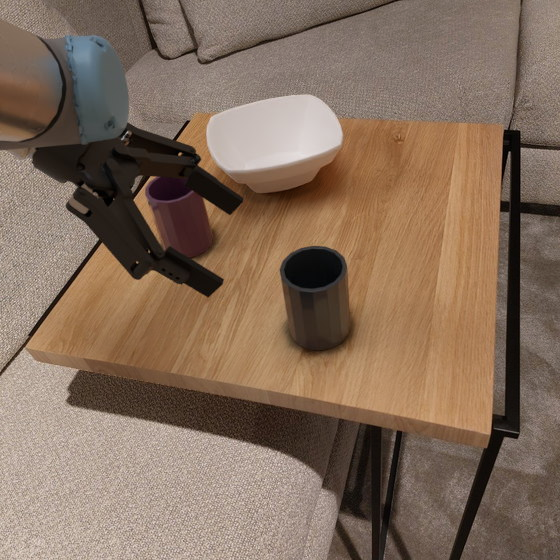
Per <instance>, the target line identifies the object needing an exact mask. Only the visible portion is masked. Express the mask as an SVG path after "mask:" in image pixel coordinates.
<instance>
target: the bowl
mask: <svg viewBox="0 0 560 560" xmlns="http://www.w3.org/2000/svg"><path fill="white" fill-rule="evenodd" d="M344 137H345V135H344V132H343V128H342V125H341V122H340V120H339V118H338V116H337V115H336V114H335V112H334V111H333V110H332V109H331V108H330V106H329V105H327V103H325V102H324V101H323V100H322V99H320V98H318V97H317V96H315V95H313V94H292V95H291V94H290V95H285V96H277V97H271V98H266V99H261V100H257V101H251V102H249V103H244V104H241V105H238V106H234V107H232V108H228V109H225V110H223V111H220V112H218V113H216V114H214V115H211V117H210V119H209V121H208V123H207V125H206V132H205V138H206V145H207V149H208V152H209V154H210V156H211V158H212V160H213V161H214V163H215V164H216V166H217V167H218V168H219V169H220V170H221V171H223V172H224V173H225V174H226V175H227V176H228V177H229V178H231V179H232V180H233V181H234V182H236V183H237V184H245V185H246V186H247V187H248V188H249V189H250V190H252V191H253V192H254V193H255V194H268V193H276V192H282V191H287V190H291V189H295V188H297V187H300V186H303V185H305V184H308V183H310V182H312V181H313V180H314V179H315V178H316V176H317V174H318V173H319V171H320V170H321V168H323V167H325V166H327V165H329V164H330V163H332V162H333V161H334V159H335V158H336V156H337V155H338V153H339V152H340V150H341V149H342V148H343V145H344V144H343V143H344Z"/></svg>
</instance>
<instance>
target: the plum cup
mask: <svg viewBox="0 0 560 560" xmlns="http://www.w3.org/2000/svg"><path fill="white" fill-rule="evenodd" d="M187 179H188V178H185V179H182V178H168V177H154V178H153V179H151V180H150V181H149V182H148V183H147V185H146V186H145V190H144V195H145V198H146V201H147V205H148V207H149V211H150V213H151V217H152V219H153V222H154V225H155V228H156V231H157V235H158V236H159V240H160V242H161V247H162V248H163V250H164V251H165V250H166V249H167V248H168V247H169V246H170V247H172V248H174V249H175V250H177V251H179V252H180V253H182V254H184V255H185V256H187V257H188V258H190V259H192V258H194V257H197V256H200V255H201V254H203V253H205V252H206V251H207V250H209V248H210V247H211V246H212V244H213V241H214V235H213V229H212V225H211V222H210V218H209V214H208V211H207V206H206V203H205V198H203V197H201V196H200V195H198V194H197V193H195V192H194V191H192V190H191V189H189V188H188V187H186V186H185V185H184V184H185V182H186V180H187Z"/></svg>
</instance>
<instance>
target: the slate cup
mask: <svg viewBox="0 0 560 560" xmlns="http://www.w3.org/2000/svg"><path fill="white" fill-rule="evenodd" d="M279 277H280V283H281V289H282V294H283V301H284V306H285V312H286V318H287V324H288V330H289V335H290V338H291V339H292V340H293V341H294V342H295V343H296V344H297V345H298V346H299V347H301V348H304V349H305V350H310V351H317V352H320V351H321V352H322V351H327V350H330V349H334V348H335V347H337V346H339V345H340V344H342V342H344V341H345V340H346V338H347V337H348V335H349V334H350V330H351V312H350V310H351V309H350V290H349V272H348V263H347V261H346V258H345V256H344V255H342V253H340V252H339V251H338V250H336V249H334V248H331V247H329V246H325V245H324V246H323V245H309V246H304V247H300V248H298V249H296V250H293V251H292V252H290V253H288V255H286V257H284V259H283V260H282V262H281V265H280V267H279Z"/></svg>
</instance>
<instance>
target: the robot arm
mask: <svg viewBox="0 0 560 560" xmlns="http://www.w3.org/2000/svg"><path fill="white" fill-rule="evenodd" d="M129 115H130V97H129V89H128V83H127V78H126V73H125V71H124V67H123V64H122V62H121V59H120V56H119V55H118V53H117V51H116V50H115V48H114V46H113V45H112V44H111V43H110V42H109V41H108V40H107V39H105V38H104V37H102V36H100V35H96V34H95V35H72V34H65V36H62V37H57V38H45V37H42V36H40V35H37V34H34V33H33V32H31V31H28V30H26V29H23V28H22V27H20V26H17V25H15V24H14V23H11V22H9V21H6V20H4V19H2V18H0V151H6V152H8V153H9V154H11V155H13V156H15V157H16V158H18V159H19V160H20V161H23V160H26V159H27V158H29V159H31V164H32V165H33V166H32V167H33V168H35V169H36V170H38V171H39V172H40V173H43V174H44V175H46V176H48V177H49V178H51V179H52V180H54V181H56V182H58V183H59V184H66V183H69V182H70V183H72V184H73V185H74V186H75V187H76V188H75V190H74V191H73V193H72V194H71V196H70V197H69V199H68V200H67V202H66V203H65V209H66V211H68V212H70V213H71V214H72V215H74V216H75V217H76V218H78V219H79V220H81V221H82V222H83V223H85V225H86V226H87V227H88V228H89V229H90V230H91V232H92V233H93V234H94V235H95V236H96V238H98V240H99V241H100V242H101V243H102V244H103V246H105V248H106V249H107V250H108V251H109V252H110V253H111V255H112V256H113V257H114V258H115V259H116V260H117V261H118V263H119V264H120V265H121V267H123V268H124V270H125V271H126V272H127V273H128V274H129V275H130V277H131V278H132V279H134V280H136V281H140V280H141V279H142V278H144V276H145V275H149V273H150V272H151V271H154V272H156V273H157V274H160V275H161V276H163V277H164V278H167V279H168V280H169V281H172V282H173V283H175V284H177V285H181V286H182V285H186V286H187V287H190V289H192V290H194V291H195V292H198V293H200V294H201V295H203V296H204V297H206V298H210V297H211V296H212V295H213V294H214V293H216V291H218V289H220V288H221V287H222V286H223V285H224V281H225V279H224V278H223V277H221V276H220V275H218V274H216V273H215V272H213V271H212V270H210V269H208V268H206V267H205V266H203V265H202V264H200V263H198V262H197V261H195V260H193V259H192V258H188V257H187V256H185V255H184V254H182V253H180V252H179V251H177V250H175V249H174V248H172V247H170V246H169V247H168V248H167V249H166V250H164V248H163V246H162V244H160V242H159V241H158V239H157V237H156V235H155V233H154V232H153V230H152V228H151V227H150V225H149V224H148V222H147V220H146V219H145V216H144V215H143V213H142V211H141V210H140V208H139V207H138V205H137V204H136V202H135V200H134V192H133V190H132V189H133V188H134V186H135V183H136V179H137V178H138V177H141V176H142V177H154V178H156V177H168V178H182V179H185V178H188V179H187V180H186V182H185V184H184V185H185V186H186V187H188V188H189V189H191V190H192V191H194V192H195V193H197V194H198V195H200V196H201V197H203V198H204V200H206V201H207V202H209V203H211V205H214V206H215V207H216V208H218V209H220V210H221V211H223V212H224V213H225V214H226V215H228V216H231V215H232V214H234V212H236V210H237V209H238V208H239V207H240V206H241V205H242V204H243V203H244V201H245V197H243V196H242V195H240V194H239V193H237V192H236V191H234V190H233V189H231V188H230V187H228V186H227V185H226V184H225V183H223V182H221V181H219V179H218V178H217V177H216V176H214V175H213V174H212V173H210V172H209V171H207V170H206V169H204V168H203V167H201V166H200V165H199V164H200V162H202V156H201V155H200V154H198V153H197V150H196V148H195V147H194V146H192V145H190V144H187V143H184V142H180V141H177V140H175V139H172V138H169V137H166V136H162V135H159V134H156V133H154V132H151V131H148V130H145V129H142V128H139V127H137V126H135V125H134V124H131V123H130V122H129Z"/></svg>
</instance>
